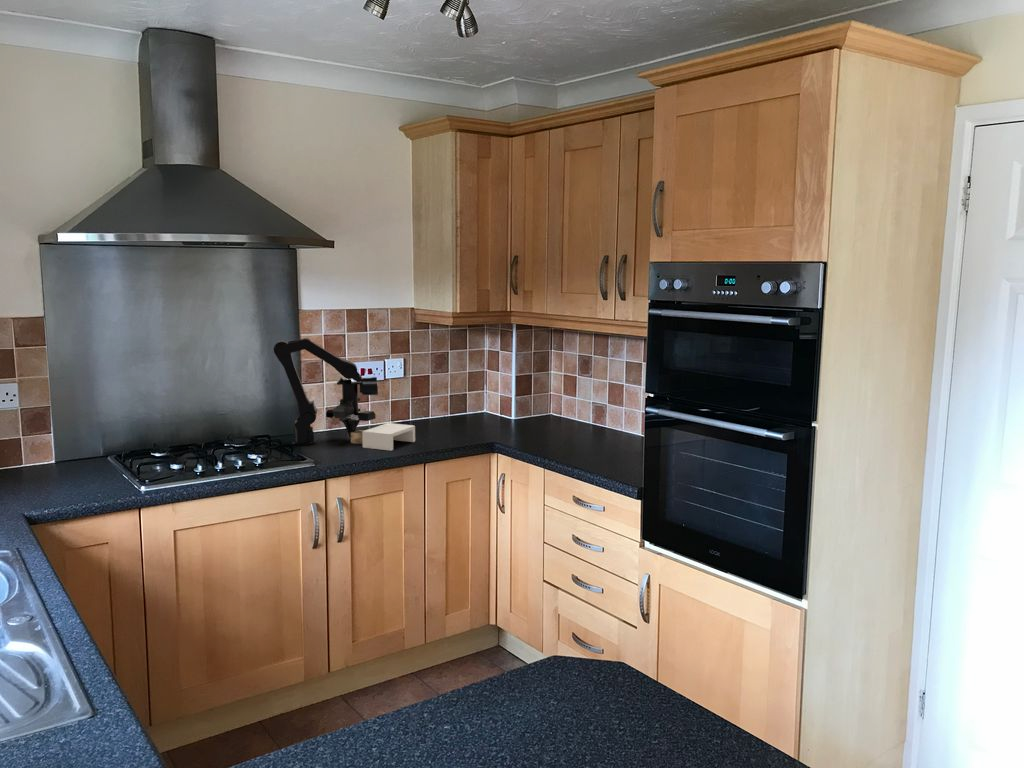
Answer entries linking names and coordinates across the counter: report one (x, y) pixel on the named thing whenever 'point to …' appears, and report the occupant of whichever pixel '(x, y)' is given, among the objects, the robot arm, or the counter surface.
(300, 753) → the counter surface
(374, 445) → the shelf
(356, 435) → the brown wooden box
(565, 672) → the counter surface
